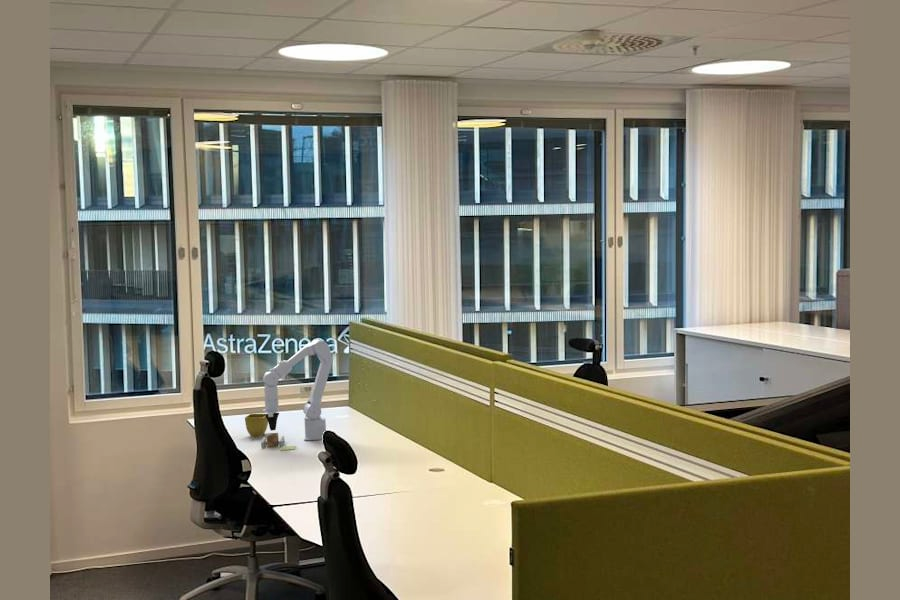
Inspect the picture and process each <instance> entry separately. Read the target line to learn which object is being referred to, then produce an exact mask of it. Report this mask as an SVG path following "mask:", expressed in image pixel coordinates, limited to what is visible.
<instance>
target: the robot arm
mask: <svg viewBox="0 0 900 600" xmlns="http://www.w3.org/2000/svg"><path fill="white" fill-rule="evenodd" d="M308 356H316V357H317V358H318V360H319V361H320V362H319V366H318V370H317V373H316V376H315V379H314V383H313V386H312V389H311V393H310V396H309V397H308V399H307V402H306V403H305V404H304V405H303V408H302V411H303V413H304V415H305V416H304V417H303V418H304V420H303V421H304V438H303V441H317V440H318V441H320V440H323V439H322V435H323V432H324V431H327V423H326V421H327V420H326V417H321V415H322V404H323V403H322V401H323V400H322V398H323V396H324V391H325V389H326V385H327V382H328V378H329V375H330V372H331V368H332V365H333V357H332V352H331V347H330V346H329V344H328V343H327V342H326V341H325V340H322V339H320V338H314V339H313V340H311V341H310V342H307V344H306V345H304V346H303V347H301V348H300V350H298V351H297V352H296V353H295V354H293V356H291V357H290V358H289V359H288V360H287V359H286V360H285V359H283V360H279V361H278V362H277V363H278V364H277V365H276V366H274V367H273V368H270V369H269V371H267V372H265V373H264V375H263V377H262V381H263V383H264V390H263V391H264V408H265V409H262V412H263V413H265V414H266V415H265V416H266V418H267V420H268V426H269V430H270V431H276V430H277V429H276V428H277V422H278V417H279V415H280V412H279V411H280V408H279V389H278V383H279V381H280V380H282V379H283V378H284V377H285V376H287V375H288V374H289V373H290V372H291V371H292V370H293V366H295V365H296V364H297V363H299V362H300V361H302V360H303V359H304V358H306V357H308Z"/></svg>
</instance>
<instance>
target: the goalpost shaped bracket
mask: <svg viewBox="0 0 900 600" xmlns="http://www.w3.org/2000/svg"><path fill="white" fill-rule="evenodd" d="M285 442H286V441H285V435H282V436H281V437H280V439H279V447H280V448H281V446H285ZM260 443H261V444H260V445H261V446H260V447H261V449H265V446H267V436H263V437H262V440H261V442H260Z"/></svg>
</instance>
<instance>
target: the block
mask: <svg viewBox="0 0 900 600" xmlns="http://www.w3.org/2000/svg"><path fill="white" fill-rule="evenodd" d="M279 441H280V439H279V432H269V433H267V434H266V442H267V445H266V446H267V448H273V447H274V448H275V447H278V446H280V444H279Z"/></svg>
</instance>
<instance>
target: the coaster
mask: <svg viewBox="0 0 900 600" xmlns="http://www.w3.org/2000/svg"><path fill="white" fill-rule="evenodd" d="M296 447H297V446H296V445H283V446H281V447H280V450H279V451H295V449H296Z"/></svg>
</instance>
